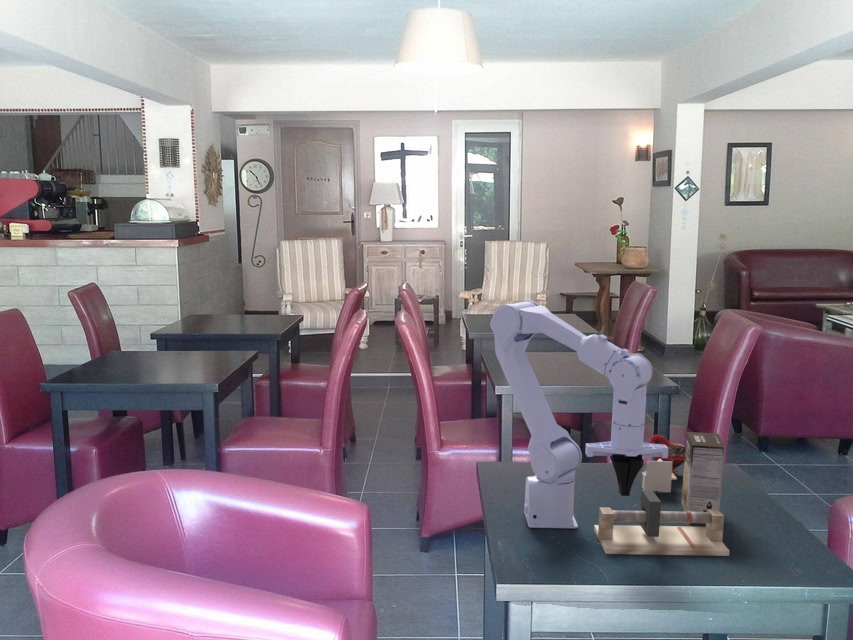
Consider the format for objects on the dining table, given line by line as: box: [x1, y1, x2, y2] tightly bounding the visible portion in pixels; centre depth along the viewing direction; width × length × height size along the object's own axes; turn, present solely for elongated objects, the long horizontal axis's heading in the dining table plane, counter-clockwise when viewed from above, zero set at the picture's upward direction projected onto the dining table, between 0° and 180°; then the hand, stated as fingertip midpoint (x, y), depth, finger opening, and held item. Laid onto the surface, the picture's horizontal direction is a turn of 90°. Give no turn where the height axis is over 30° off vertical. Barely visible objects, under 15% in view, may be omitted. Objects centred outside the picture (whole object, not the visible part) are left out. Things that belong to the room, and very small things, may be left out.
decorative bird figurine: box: [649, 434, 685, 474], centre depth 176 cm, size 3×18×10 cm, turn 112°
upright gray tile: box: [639, 489, 662, 537], centre depth 139 cm, size 2×5×7 cm, turn 0°
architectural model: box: [641, 459, 678, 493], centre depth 166 cm, size 3×7×7 cm, turn 88°
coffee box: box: [681, 431, 726, 525], centre depth 151 cm, size 9×6×16 cm
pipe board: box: [593, 506, 730, 557], centre depth 139 cm, size 22×10×6 cm, turn 90°
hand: (624, 493), depth 138 cm, fingers closed
